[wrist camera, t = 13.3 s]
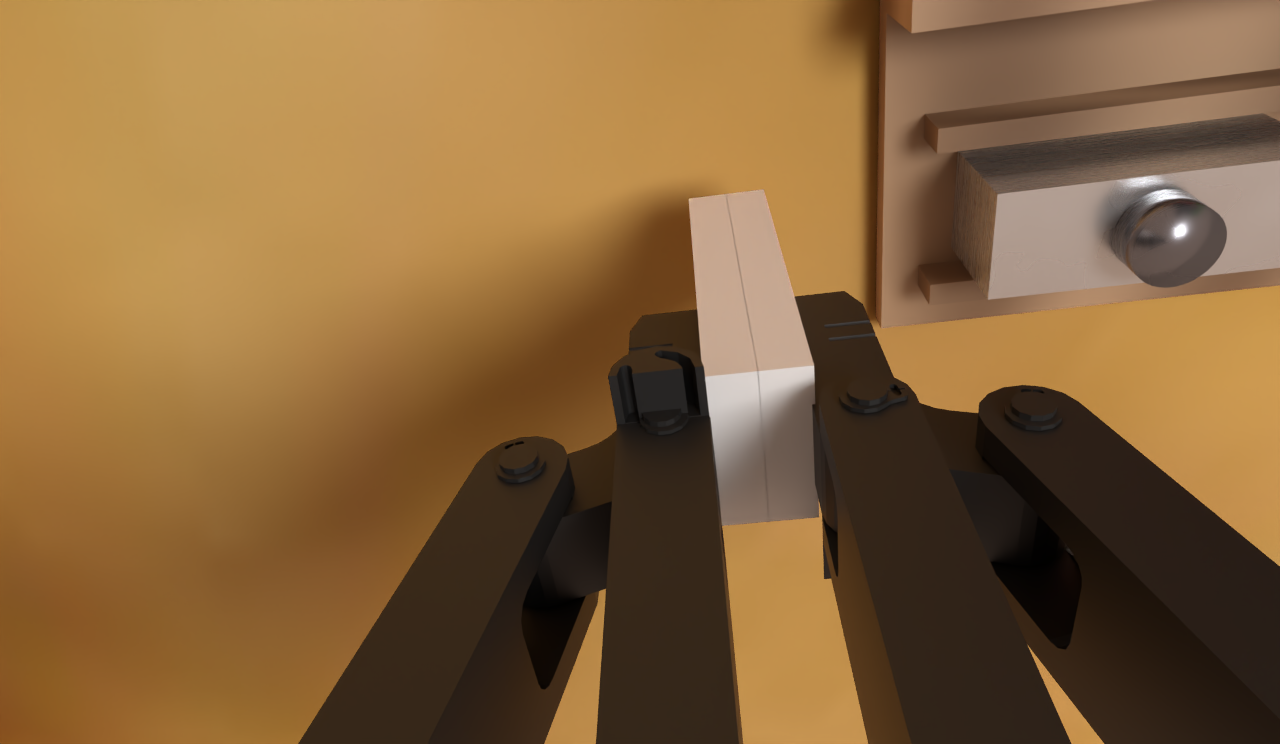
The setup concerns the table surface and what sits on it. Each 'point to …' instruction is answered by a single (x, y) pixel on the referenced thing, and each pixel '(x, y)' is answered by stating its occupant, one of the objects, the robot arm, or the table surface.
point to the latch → (1120, 207)
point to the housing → (1043, 117)
